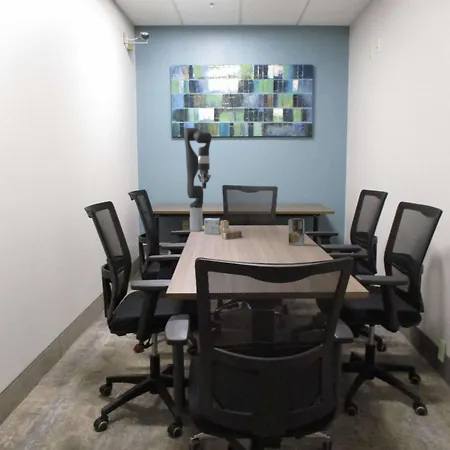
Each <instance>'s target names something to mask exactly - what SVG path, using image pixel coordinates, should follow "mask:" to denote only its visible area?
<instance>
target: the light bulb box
mask: <svg viewBox="0 0 450 450" xmlns="http://www.w3.org/2000/svg"><path fill="white" fill-rule="evenodd" d="M203 230H204V232H203V234H204V235H220V234H221V219H220V217H217V218H215V217H212V218H210V217H209V218H208V217H207V218H204V219H203Z"/></svg>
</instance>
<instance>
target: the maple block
mask: <svg viewBox="0 0 450 450" xmlns="http://www.w3.org/2000/svg"><path fill="white" fill-rule="evenodd" d="M229 224H230V223H229V220H226V219H225V220H220V236H222V233H223V232H230V231H229V229H230V228H229Z"/></svg>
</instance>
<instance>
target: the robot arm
mask: <svg viewBox="0 0 450 450" xmlns="http://www.w3.org/2000/svg"><path fill="white" fill-rule="evenodd" d="M183 136H184V145H185V146H184V147H185V157H186V158H185V162H186V174H187V175H186V177H187V186H186V187H187V188H186V190H187V191H186V192H187V193H186V194H187V196H188V198H189V199H195V200H194V201H192V202H190V204H189V231H192V232H201V231H202V232H203V230H204V219H203V217H204V216H203V204H204V190H205V189H207V183H208V182H209V181H210V179H211V177H212V175H211V174H210V173H209V170H210V167H211V166H210V165H211V164H210V146H211V143H212V135H211V133H210V132H203V131H201V130H200V129H199V128H196V127H185V128H184V131H183ZM191 142H196V143H197V144H205V145H204V146H200V147H198V155H197V153H196V152H195V151H194V149H193V147H192V144H191ZM198 172H199V174H198ZM196 176H197V178H198V179H199V182H200V183H201V185H195V177H196Z"/></svg>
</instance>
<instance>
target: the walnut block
mask: <svg viewBox="0 0 450 450" xmlns="http://www.w3.org/2000/svg"><path fill="white" fill-rule="evenodd" d="M238 237H239V238H242V237H243V231H242V230H232V231H229V232H223V233H222V235H221V239H222V240H230V239H231V238H232V239H238Z"/></svg>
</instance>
